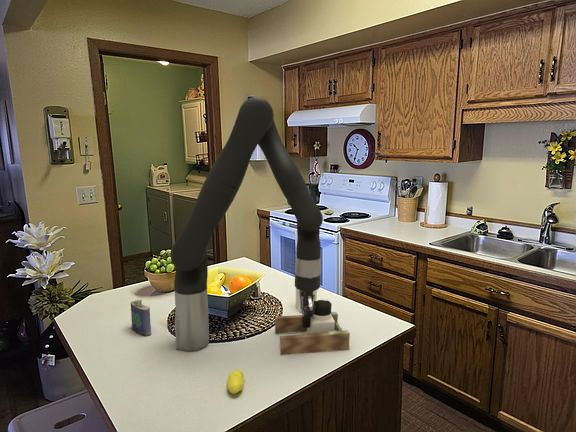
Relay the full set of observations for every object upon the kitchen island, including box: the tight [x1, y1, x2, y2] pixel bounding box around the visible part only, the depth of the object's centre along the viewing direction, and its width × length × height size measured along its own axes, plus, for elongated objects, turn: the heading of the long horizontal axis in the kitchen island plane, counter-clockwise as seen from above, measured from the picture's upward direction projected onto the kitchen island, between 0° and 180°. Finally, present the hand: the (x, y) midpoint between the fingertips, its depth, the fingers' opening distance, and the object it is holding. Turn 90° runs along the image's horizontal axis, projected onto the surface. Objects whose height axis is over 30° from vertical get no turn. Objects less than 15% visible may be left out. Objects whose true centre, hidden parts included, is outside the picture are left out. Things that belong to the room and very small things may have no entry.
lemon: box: [226, 369, 245, 395], centre depth 95 cm, size 4×8×4 cm, turn 178°
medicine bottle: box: [306, 298, 335, 334], centre depth 118 cm, size 7×7×12 cm
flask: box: [130, 298, 152, 337], centre depth 122 cm, size 9×3×11 cm, turn 50°
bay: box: [274, 311, 351, 356], centre depth 118 cm, size 20×14×5 cm
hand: (306, 326), depth 117 cm, fingers closed
